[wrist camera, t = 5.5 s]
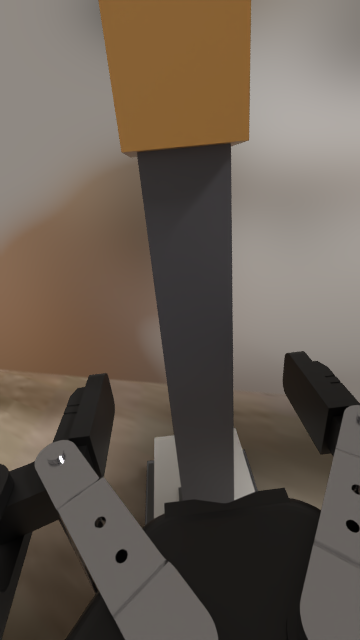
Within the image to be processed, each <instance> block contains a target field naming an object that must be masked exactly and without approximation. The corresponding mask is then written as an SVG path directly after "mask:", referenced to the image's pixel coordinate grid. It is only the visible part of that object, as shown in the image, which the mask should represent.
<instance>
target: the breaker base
mask: <svg viewBox="0 0 360 640" xmlns="http://www.w3.org/2000/svg"><path fill="white" fill-rule="evenodd" d="M256 491H258V490H257V487H256V484H255V481H254V478H253V475H252V471H251V468H250V465H249V462H248V459H247V456H246V453H245V449H244V450H242V448H241V444H240V441H239V438H238V435H237V431H236V428H234V500H236V499H239V498H241V497H243V496H246V495H248V494H251V493H253V492H256ZM176 501H183V498H182V491H181V483H180V476H179V468H178V460H177V453H176V445H175V438H174V435H172V436H164V437H155V438H154V460H152V461H147V484H146V516H145V525H146V524H147V523H149V522H150V521H151V520H153V519H154V518H156V517H158V516H160V515H162V514H164V503H169V502H176Z"/></svg>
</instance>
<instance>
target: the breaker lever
mask: <svg viewBox="0 0 360 640" xmlns="http://www.w3.org/2000/svg"><path fill="white" fill-rule="evenodd" d="M99 7H100V13H101V20H102V26H103V33H104V39H105V46H106V53H107V60H108V66H109V73H110V79H111V85H112V92H113V99H114V106H115V112H116V118H117V125H118V132H119V139H120V145H121V152H122V153H124V154H125V155H127V156H129V157H138V165H139V172H140V180H141V188H142V195H143V202H144V210H145V217H146V225H147V233H148V241H149V248H150V255H151V263H152V271H153V279H154V286H155V294H156V301H157V309H158V316H159V324H160V332H161V339H162V347H163V354H164V362H165V369H166V377H167V385H168V392H169V400H170V407H171V415H172V423H173V430H174V438H175V445H176V453H177V460H178V468H179V476H180V483H181V491H182V498H183V501H184V500H192V499H196V500H203V501H211V502H218V503H229V502H231V501H234V427H233V331H232V330H233V323H232V220H231V219H232V218H231V146H233V145H236V144H239V143H242V142H245V141H248V140H249V106H250V105H249V104H250V35H251V34H250V33H251V0H99Z"/></svg>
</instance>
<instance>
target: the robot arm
mask: <svg viewBox="0 0 360 640" xmlns="http://www.w3.org/2000/svg"><path fill="white" fill-rule="evenodd" d="M283 372H284V373H283V387H284V391H285V394H286V396H287V398H288V399H289V401H290V403H291V404H292V406H293V408H294V410H295V411H296V413H297V415H298V416H299V418H300V420H301V422H302V423H303V425H304V427H305V429H306V430H307V432H308V434H309V435H310V437H311V439H312V441H313V442H314V444H315V446H316V447H317V449H318V451H319V453H320V454H328V453H332V455H333V462H332V466H331V470H330V475H329V479H328V483H327V488H326V492H325V496H324V501H323V505H322V509H321V510H320V509H318V508H316V507H314V506H312V505H310V504H308V503H305V502H303V501H300V500H296V499H291V498H288V495H287V493H286V490H285V488H280V489H272V490H264V491H256V492H253V493H251V494H248V495H246V496H243V497H241V498H239V499H236V500H234V501H231V502H229V503H218V502H211V501H203V500H196V499H192V500H184V501H176V502H169V503H164V514H162V515H160V516H158V517H156V518H154V519H153V520H151V521H150V522H149V523H147V524H146V525H145V526H144V527H143V528H141V526H140V525H139V524H138V522H137V521H136V520H135V518H134V517H133V516H132V514H131V513H130V512H129V510H128V509H127V508H126V506H125V505H124V503H123V502H122V501H121V499H120V498H119V497H118V495H117V494H116V493H115V491H114V490H113V489H112V487H111V486H110V485H109V483H108V482H107V481H106V479H105V478H104V473H105V467H106V461H107V455H108V449H109V443H110V437H111V432H112V426H113V420H114V414H115V404H114V398H113V394H112V390H111V386H110V382H109V378H108V375H107V374H106V373H104V374H95V375H89V377H88V380H87V383H86V386H85V387H82V388H78V389H77V390H76V391H75V392H74V393H73V394H72V395H71V396H70V398H69V401H68V404H67V407H66V409H65V411H64V415H63V417H62V419H61V422H60V425H59V427H58V430H57V433H56V435H55V438H54V440H53V443H51V444H49V445H48V446H46V447H45V448H44V449H43V450H42V451H41V452H40V453H39V454H38V456H37V457H36V460H35V461H34V462H32V463H30V464H28V465H25V466H23V467H20V468H17V469H15V470H12V471H8V469H7V467H6V466H4V465H2V464H0V640H1V639H2V636H3V632H4V629H5V625H6V622H7V619H8V615H9V612H10V608H11V605H12V601H13V598H14V594H15V591H16V587H17V584H18V580H19V577H20V573H21V570H22V566H23V563H24V559H25V556H26V552H27V549H28V545H29V542H30V538H31V535H32V531H34V530H36V529H39V528H41V527H43V526H45V525H47V524H50V523H52V522H54V521H56V520H59V522H60V524H61V526H62V528H63V530H64V531H65V533H66V535H67V537H68V539H69V541H70V543H71V545H72V547H73V549H74V551H75V553H76V555H77V557H78V559H79V561H80V563H81V565H82V568H83V570H84V572H85V574H86V576H87V578H88V580H89V582H90V584H91V586H92V588H93V590H94V592H95V596H94V597H93V599H92V600H91V602H90V603H89V605H88V606H87V608H86V609H85V611H84V612H83V614H82V615H81V617H80V618H79V620H78V621H77V623H76V624H75V626H74V627H73V629H72V630H71V632H70V633H69V635H68V636H67V638H66V639H65V640H360V403H359V402H358V401H357V400H356V399H355V398H354V396H353V395H352V394H351V393H350V392H349V391H348V390H347V388H346V387H345V386H344V385H343V384H342V383H340V380H339V379H338V378H337V377H335V375H334V374H333V373H332V371H331V370H330V369H329V368H328V367H327V366H325V365H323V364H321V363H320V362H318V361H312V360H311V359H310V358H309V357H308V355H307V354H306V353H305V352H304V351H301V352H292V353H286V354H285V360H284V371H283Z"/></svg>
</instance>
